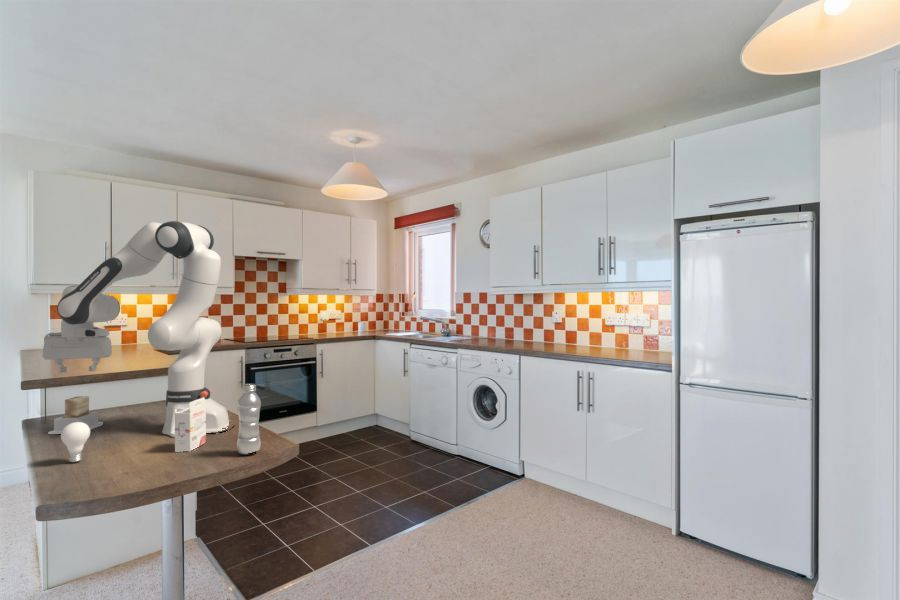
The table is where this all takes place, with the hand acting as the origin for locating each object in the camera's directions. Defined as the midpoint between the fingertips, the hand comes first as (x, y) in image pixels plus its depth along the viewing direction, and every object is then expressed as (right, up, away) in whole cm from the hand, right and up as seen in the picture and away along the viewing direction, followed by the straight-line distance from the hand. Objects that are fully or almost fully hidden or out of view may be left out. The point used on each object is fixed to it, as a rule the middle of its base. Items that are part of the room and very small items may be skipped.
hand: (77, 371), depth 159 cm
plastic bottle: (+71, -20, -26) cm, 79 cm away
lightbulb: (+27, -20, -33) cm, 47 cm away
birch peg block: (0, -19, 0) cm, 19 cm away
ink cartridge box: (+51, -20, -21) cm, 59 cm away
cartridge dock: (0, -20, 0) cm, 20 cm away
